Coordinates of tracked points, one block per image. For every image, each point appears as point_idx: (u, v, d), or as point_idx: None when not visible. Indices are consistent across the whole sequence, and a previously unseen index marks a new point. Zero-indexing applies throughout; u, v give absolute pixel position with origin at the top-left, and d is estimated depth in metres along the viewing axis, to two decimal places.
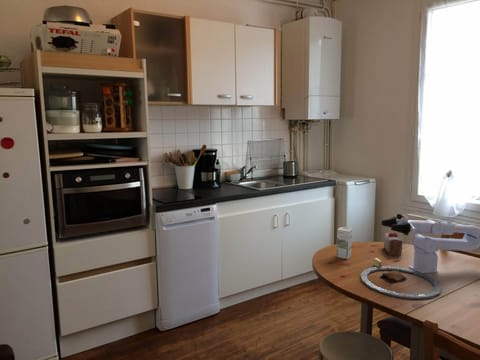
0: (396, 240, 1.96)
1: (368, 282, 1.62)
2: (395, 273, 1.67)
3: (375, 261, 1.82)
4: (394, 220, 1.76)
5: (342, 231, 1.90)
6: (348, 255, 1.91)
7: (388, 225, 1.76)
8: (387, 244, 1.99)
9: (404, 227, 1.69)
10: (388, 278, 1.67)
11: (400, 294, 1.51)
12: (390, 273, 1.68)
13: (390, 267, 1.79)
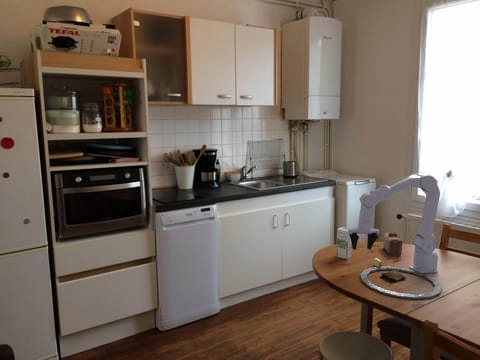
0: (396, 240, 1.96)
1: (368, 282, 1.62)
2: (395, 273, 1.68)
3: (375, 261, 1.82)
4: (368, 235, 1.79)
5: (342, 231, 1.90)
6: (348, 255, 1.91)
7: (371, 242, 1.77)
8: (387, 244, 1.99)
9: None
10: (388, 278, 1.67)
11: (400, 294, 1.51)
12: (390, 273, 1.68)
13: (390, 267, 1.79)
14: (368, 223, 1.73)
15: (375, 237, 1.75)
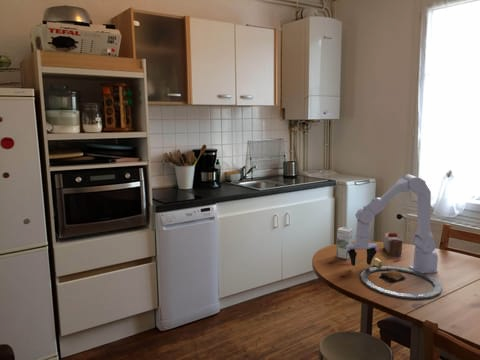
0: (396, 240, 1.96)
1: (368, 282, 1.62)
2: (394, 273, 1.68)
3: (375, 261, 1.82)
4: (367, 250, 1.80)
5: (342, 231, 1.90)
6: (348, 255, 1.91)
7: (369, 258, 1.78)
8: (387, 244, 1.99)
9: None
10: (387, 278, 1.68)
11: (400, 294, 1.51)
12: (389, 273, 1.69)
13: (390, 267, 1.79)
14: (365, 239, 1.74)
15: (373, 252, 1.76)
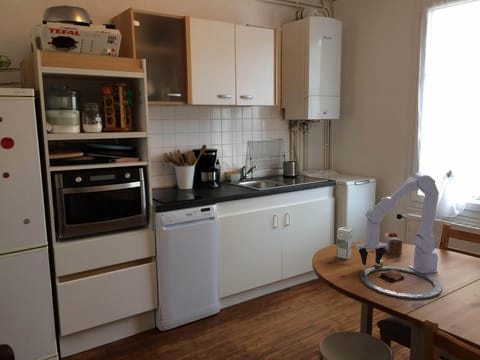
0: (396, 240, 1.96)
1: (367, 281, 1.63)
2: (394, 272, 1.68)
3: None
4: (376, 250, 1.81)
5: (342, 231, 1.90)
6: (348, 255, 1.91)
7: (378, 257, 1.79)
8: None
9: None
10: (387, 278, 1.68)
11: (398, 294, 1.52)
12: (389, 273, 1.69)
13: (391, 267, 1.79)
14: (375, 238, 1.75)
15: (382, 252, 1.77)
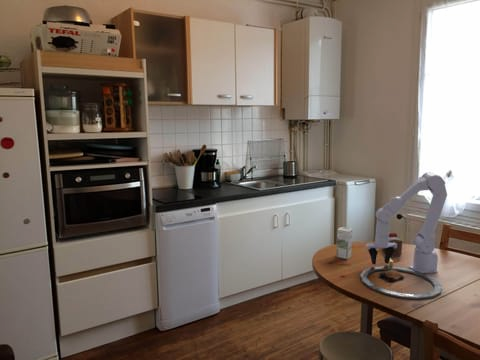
0: (396, 240, 1.96)
1: (364, 277, 1.67)
2: (393, 272, 1.68)
3: None
4: (385, 249, 1.82)
5: (342, 231, 1.90)
6: (348, 255, 1.91)
7: (388, 257, 1.80)
8: None
9: None
10: (387, 278, 1.68)
11: (387, 291, 1.54)
12: (388, 272, 1.69)
13: (401, 268, 1.78)
14: (385, 238, 1.76)
15: (392, 251, 1.78)
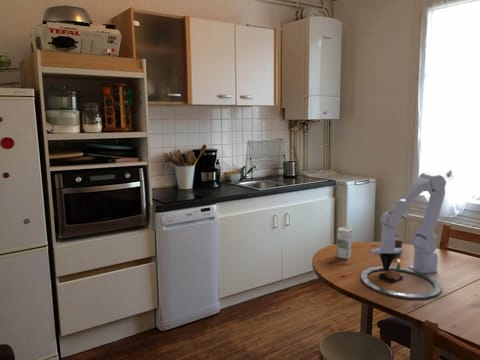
0: (396, 240, 1.96)
1: (364, 275, 1.69)
2: (393, 272, 1.68)
3: None
4: None
5: (342, 231, 1.90)
6: (348, 255, 1.91)
7: None
8: None
9: None
10: (387, 278, 1.67)
11: (380, 289, 1.56)
12: (388, 273, 1.68)
13: (408, 270, 1.76)
14: (391, 243, 1.70)
15: (392, 257, 1.72)
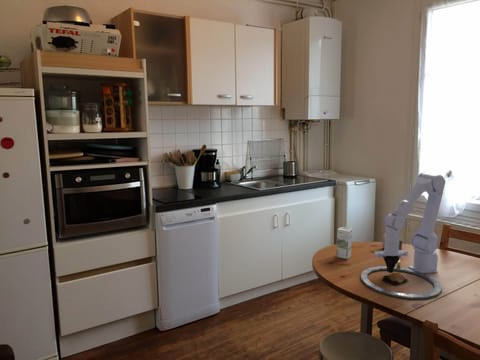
0: None
1: (364, 275, 1.69)
2: (397, 275, 1.65)
3: None
4: None
5: (342, 231, 1.90)
6: (348, 255, 1.91)
7: None
8: None
9: None
10: (390, 281, 1.64)
11: (380, 289, 1.56)
12: (392, 275, 1.66)
13: (408, 270, 1.76)
14: (395, 246, 1.67)
15: (396, 260, 1.69)
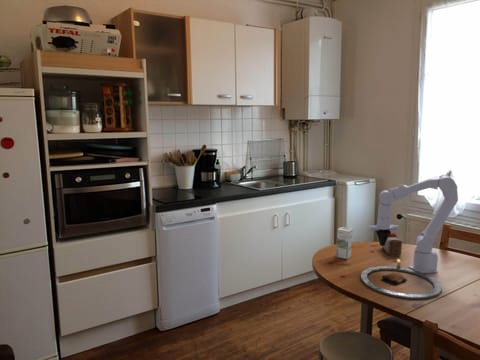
0: (396, 240, 1.96)
1: (364, 275, 1.69)
2: (396, 275, 1.65)
3: None
4: None
5: (342, 231, 1.90)
6: (348, 255, 1.91)
7: (384, 239, 1.82)
8: (386, 244, 1.99)
9: None
10: (390, 280, 1.65)
11: (380, 289, 1.56)
12: (391, 275, 1.66)
13: (408, 270, 1.76)
14: (387, 220, 1.79)
15: (388, 233, 1.80)
